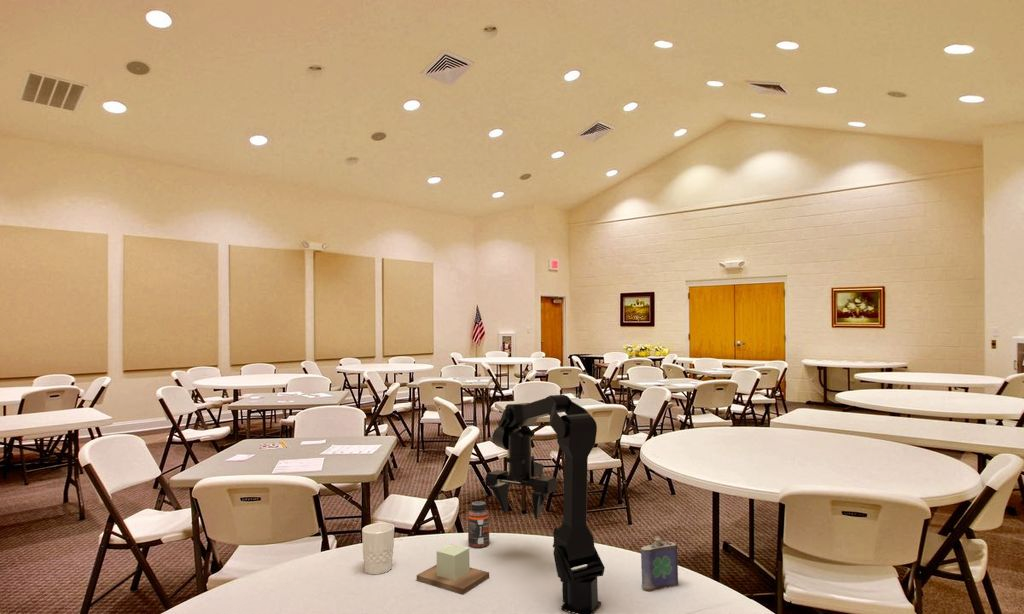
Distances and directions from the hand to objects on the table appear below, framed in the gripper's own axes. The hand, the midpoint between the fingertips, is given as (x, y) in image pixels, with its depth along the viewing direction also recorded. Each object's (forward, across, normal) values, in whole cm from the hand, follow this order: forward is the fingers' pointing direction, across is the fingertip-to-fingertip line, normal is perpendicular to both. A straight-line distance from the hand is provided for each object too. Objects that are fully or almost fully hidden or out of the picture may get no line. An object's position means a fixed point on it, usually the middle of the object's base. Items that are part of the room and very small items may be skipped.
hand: (521, 516), depth 130 cm
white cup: (+12, +30, +20) cm, 38 cm away
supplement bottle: (+12, +18, -6) cm, 23 cm away
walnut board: (+12, +10, +15) cm, 22 cm away
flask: (+12, -33, -6) cm, 36 cm away
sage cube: (+11, +10, +15) cm, 21 cm away
